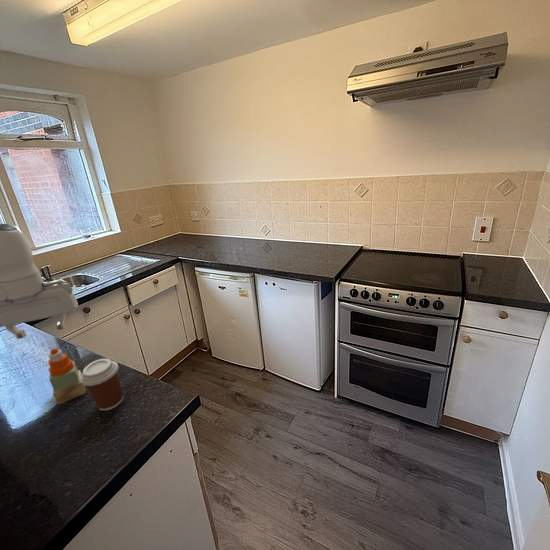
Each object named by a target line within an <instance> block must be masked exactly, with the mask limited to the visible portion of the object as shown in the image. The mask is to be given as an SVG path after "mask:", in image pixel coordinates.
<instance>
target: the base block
mask: <svg viewBox="0 0 550 550" xmlns="http://www.w3.org/2000/svg"><path fill="white" fill-rule="evenodd" d="M78 373H79V382H78V383H75V384H73V385H71V386H68V387H66V388H63V389H61V390H58V391H56V392H55V391H54V389H53V388H52V396H53V397H54V399H55V401H56V403H57V405H58V406H59V405H61V404H63V403H67V402H69V401H71V400H73V399H76V398H77V397H80V396H83V395H85V394H86V393H87V389H86V388H87V387H86V386H85V385H83V384H81V381H80V377H81V375H82V374H83V373H82V371H81V370H79V369H78Z"/></svg>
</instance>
